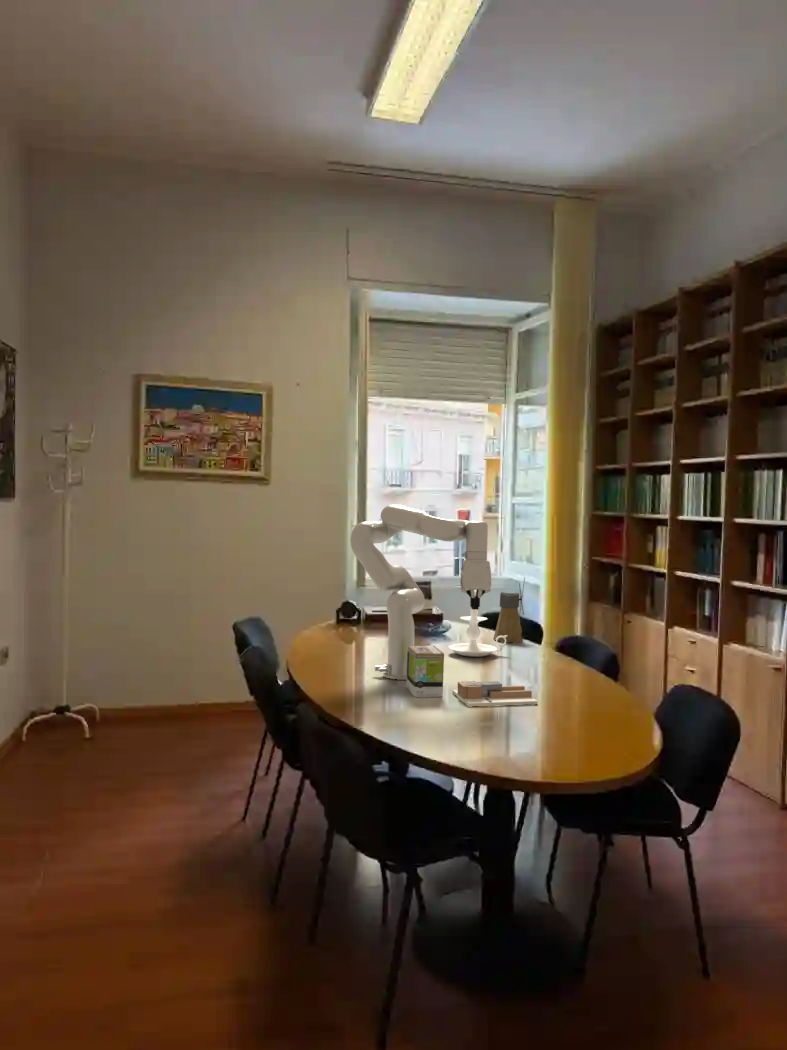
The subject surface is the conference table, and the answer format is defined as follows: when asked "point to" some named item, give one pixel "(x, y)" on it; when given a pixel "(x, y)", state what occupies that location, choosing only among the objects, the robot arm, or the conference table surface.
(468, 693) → the lock board
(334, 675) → the conference table surface
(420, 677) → the tea box
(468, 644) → the candlestick
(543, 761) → the conference table surface
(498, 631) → the windmill
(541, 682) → the conference table surface
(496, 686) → the bolt
